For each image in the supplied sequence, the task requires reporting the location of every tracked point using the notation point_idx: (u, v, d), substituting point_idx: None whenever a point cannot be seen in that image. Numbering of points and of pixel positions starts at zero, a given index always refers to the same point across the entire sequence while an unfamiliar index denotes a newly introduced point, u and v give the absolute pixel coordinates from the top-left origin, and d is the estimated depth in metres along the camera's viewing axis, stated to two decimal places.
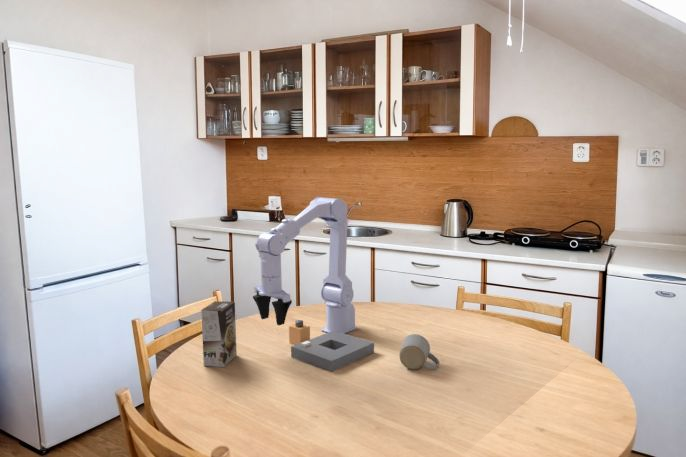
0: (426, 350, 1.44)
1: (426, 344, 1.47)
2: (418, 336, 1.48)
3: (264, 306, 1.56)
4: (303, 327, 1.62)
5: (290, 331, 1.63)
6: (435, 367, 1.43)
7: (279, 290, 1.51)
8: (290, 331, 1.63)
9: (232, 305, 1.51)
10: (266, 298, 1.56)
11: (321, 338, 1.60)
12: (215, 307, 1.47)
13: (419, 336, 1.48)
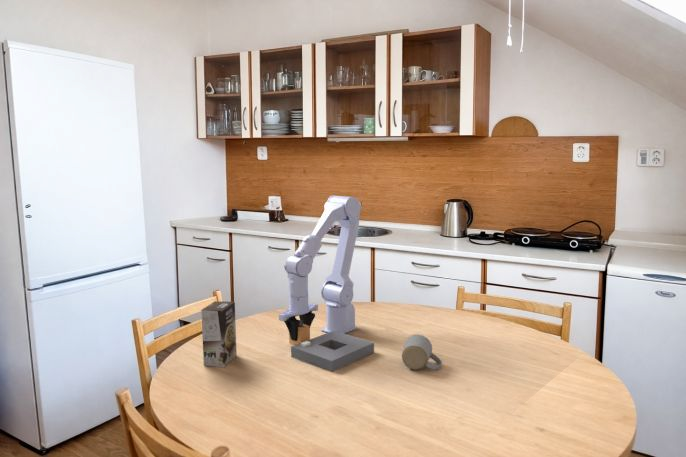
0: (428, 350, 1.44)
1: (429, 344, 1.47)
2: (420, 336, 1.47)
3: None
4: (303, 327, 1.62)
5: None
6: (437, 367, 1.43)
7: (293, 310, 1.60)
8: None
9: (232, 305, 1.51)
10: (305, 318, 1.64)
11: (321, 338, 1.60)
12: (215, 307, 1.47)
13: (421, 336, 1.47)
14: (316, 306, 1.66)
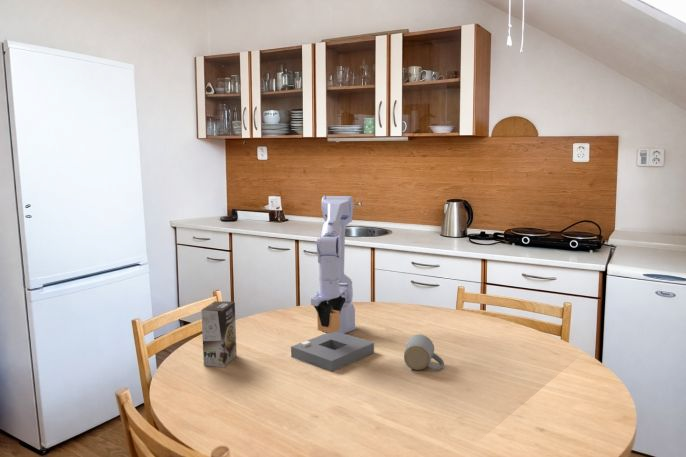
0: (430, 351, 1.44)
1: (431, 344, 1.46)
2: (422, 336, 1.47)
3: (333, 309, 1.55)
4: (333, 312, 1.52)
5: (318, 317, 1.53)
6: (440, 368, 1.43)
7: (325, 294, 1.50)
8: None
9: (232, 305, 1.51)
10: (335, 303, 1.54)
11: (321, 338, 1.60)
12: (215, 307, 1.47)
13: (423, 336, 1.47)
14: (345, 290, 1.57)
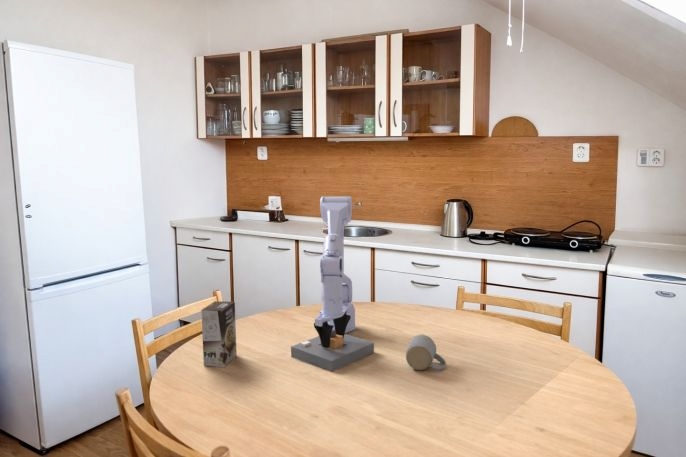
0: (433, 351, 1.44)
1: (433, 344, 1.46)
2: (424, 337, 1.47)
3: (339, 327, 1.56)
4: (337, 337, 1.53)
5: None
6: (442, 368, 1.43)
7: (329, 314, 1.50)
8: None
9: (232, 305, 1.51)
10: (341, 320, 1.56)
11: None
12: (215, 307, 1.47)
13: (425, 337, 1.47)
14: (347, 308, 1.58)
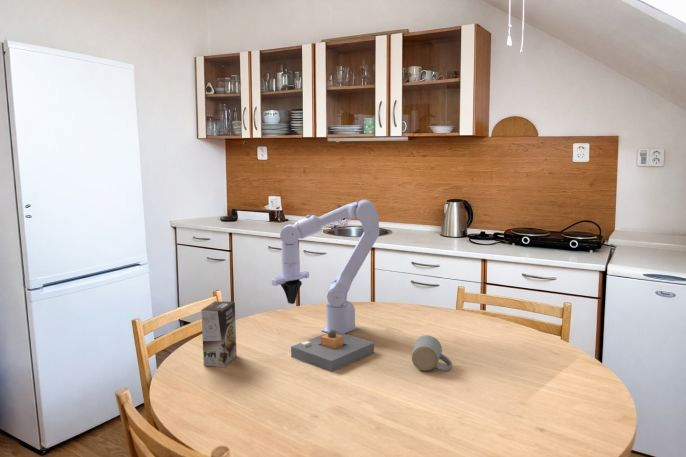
0: (438, 351, 1.43)
1: (439, 345, 1.46)
2: (430, 337, 1.47)
3: None
4: (337, 337, 1.53)
5: (321, 342, 1.54)
6: (447, 368, 1.42)
7: (285, 276, 1.70)
8: (322, 342, 1.54)
9: (232, 305, 1.51)
10: None
11: None
12: (215, 307, 1.47)
13: (431, 337, 1.47)
14: (307, 273, 1.76)
